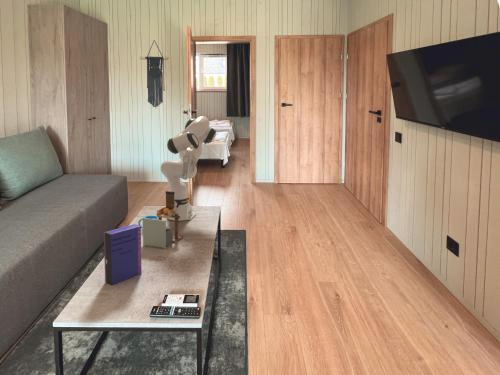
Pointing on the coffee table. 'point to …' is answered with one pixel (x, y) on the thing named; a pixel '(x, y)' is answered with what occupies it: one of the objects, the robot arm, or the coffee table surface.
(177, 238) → the stand
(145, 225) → the bin
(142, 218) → the mug
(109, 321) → the coffee table surface
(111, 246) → the cereal box
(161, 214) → the chute
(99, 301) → the coffee table surface
